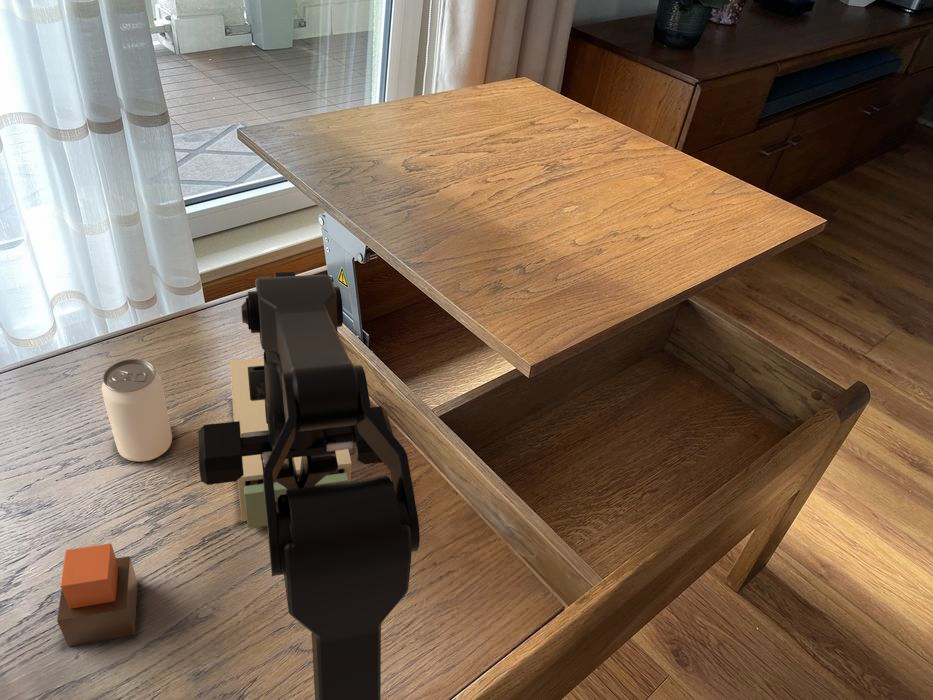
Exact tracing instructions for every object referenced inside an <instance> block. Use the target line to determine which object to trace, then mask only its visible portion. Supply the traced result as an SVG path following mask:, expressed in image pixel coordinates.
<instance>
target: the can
mask: <svg viewBox="0 0 933 700" xmlns="http://www.w3.org/2000/svg"><path fill="white" fill-rule="evenodd" d="M101 393H102V398H103V401H104V402H103V403H104V406H105V410H106V413H107V416H108V420H109V424H110V429H111V432H112V436H113V439H114V443H115V447H116V449H117V452H118V454H119V455H120V456H121V457H123V459H125V460H128V461H131V462H135V463H136V462H138V463H143V462H149V461H153V460H156V459H157V458H159V457H160V456H162V455H163V454H165V453H166V452H167V451H168V450H169V448H170V447H171V444H172V441H173V435H172V434H173V433H172V429H171V424H170V423H171V422H170V418H169V413H168V407H167V402H166V398H165V393H164V387H163V382H162V378H161V376H160V374H159V373H158V372H157V370H156V368H155V366H154V365H153V364H152V363H151V362H150V361H147V360H144V359H139V358H129V359H123V360H120V361H117V362H115V363H113V364H112V365H110V366H109V367H108V368H107V369H106V370H105V371H104V373H103V375H102V384H101Z"/></svg>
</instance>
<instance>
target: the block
mask: <svg viewBox="0 0 933 700" xmlns="http://www.w3.org/2000/svg"><path fill="white" fill-rule="evenodd" d="M116 558H117V557H116V554H115V550H114V548H113V544H112V543H105V544H97V545H91V546H84V547H77V548H76V547H75V548H71V549H70V548H69V549H65V553H64V559H63V568H62V574H61V580H60V588H61V589H62V591H63V593H64V596H65V598H66V600H67V603H68V605H69V608H70V609H72V608H78V607H84V606H90V605H96V604H102V603H108V602H114V601H116V590H117V577H118V563H117V560H116ZM61 589H60V590H61Z"/></svg>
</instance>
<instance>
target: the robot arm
mask: <svg viewBox="0 0 933 700" xmlns="http://www.w3.org/2000/svg"><path fill="white" fill-rule="evenodd" d="M254 282H255V283H254V284H255V290H252V291H247V297H245V301H244V302H243V304H242V305H241V307H240V309H241V320H242V324H246V325H247V328H248V330H249V331H250V333H251V334H259V341H260V346H261V349H262V350H263V358H264V366H253V367H248V379H249V391H250V400H251V401H257V400H265V413H266V423H267V424H268V430H265V431H256V432H247V433H242V434H241V433H240V432H241V430H240V421H235V422H234V421H227V422H217V423H207V424H203V425H202V427H200V428H199V430H198V433H197V435H198V469H199V477H200V482H201V483H203V484H205V485H207V486H210V485H211V486H212V485H218V484H219V485H220V484H225V483H233V482H238V479H239V478H241V477H242V476H243V475H244V473H243V461H242V457H243V456H251V455H259V454H260V456H261V460H262V467H263V484H264V498H265V509H266V520H267V525H266V529H267V530H266V531H267V539H268V551H269V562H270V569H271V570H270V571H271V576H272V577H276V576H282V575H283V581H284V588H285V595H286V603H287V610H288V614H289V615H290V616H291V617H292V618H293V619H295V620H296V621H297V622H298V623H299V624H301V625H302V626H303V627H304V628H306V629H307V630H308V631H309V632H310V633H311V644H312V645H311V648H312V669H313V686H314V687H313V688H314V700H382V699H381V695H382V692H381V687H382V685H381V684H382V669H381V668H382V623H383V622H384V620H386V619H387V617H388V616H389V615H390V614H391V612H392V611H393V610H394V609H395V607H396V606H398V604H399V603H400V601H402V600H403V598H404V597H405V595H406V594H407V593H408V591H409V588H410V587H409V586H410V578H411V567H412V553H414V552H418V550H419V548H420V541H421V536H420V534H421V532H420V521H419V514H418V509H417V503H416V498H415V497H416V496H415V492H414V486H413V481H412V474H411V469H410V463H409V457H408V454H407V452H406V449H405V448H404V447H403V445H402V444H401V442H399V440H398V439H397V438H396V437H395V436H394V433H393V432H394V431H393V429H392V426H391V425H392V424H391V421H390V418H389V415H388V411H387V410H386V409H385V408H384V407H383V406H381V405H380V406H372V405H371V400H370V394H369V388H368V381H367V377H366V371H365V369H364V366H363V365H362V364H357V365H354V364H353V363H352V361H351V359H350V357H349V355H348V353H347V351H346V348H345V346H344V343H343V342H342V340H341V338H340V335H339V331H338V328H341V327H343V323H344V307H343V306H344V305H343V298H342V292H341V289H340V286H335V285H334V283H333V280H332V277H331V276H329V275H328V274H308V275H296V272H295V271H281V272H274V276H267V277H265V276H264V277H257V278H256V279H255V281H254ZM345 449H349V450H352V449H356V461H357V462H359V463H361V464H363V465H373V464H381V463H383V464H384V465H385V467H386V468H387V469H388V470H389V474H390V477H389V476H388V475H384V476H378V477H377V476H376V477H371V478H363V479H355V480H351V481H348V482H341V483H334V484H327V485H319V486H315V485H316V484H317V483H318V482H319V481H320V480H321V479H323V478H324V477H325V476H326V475H327V474H329V473H334V472H336V471H337V469H338V463H337V458H336V453H335V451H337V450H345ZM294 457H302V459H301V466H300V474H299V480H298V476H297V471H296V467H295V463H294ZM275 481H276V482H278V483H279V484H281V485H282V486H284V487H285V488H286V489H287V490H286V494H282V495H280V496H279V497H278V499H277V500H278V511H277V512H276V504H275V494H274V482H275Z"/></svg>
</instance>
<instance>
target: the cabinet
mask: <svg viewBox="0 0 933 700" xmlns="http://www.w3.org/2000/svg"><path fill="white" fill-rule="evenodd" d="M253 366H264V357H254V358H242V359H241V358H239V359H232V360H231V359H230V360H229V367H230V381H231V383H230V384H231V393H232V394H231V397H232V398H231V399H232V412H233V414H232V415H233V422H235V421H240V430H241V432H240V433H241V434H242V433H247V432H256V431H265V430H268V424H267V423H266V413H265V400H257V401H251V400H250V391H249V379H248V367H253ZM335 453H336V458H337V463H338V469H339V474H341V473H347V476H348V481H352V480H351V479H352V459H351V455H350V449H345V450H337V451H335ZM301 459H302V457H294V463H295V467H296V471H297V475H298V474H300V466H301ZM242 461H243V473H244V475H243V476H242V477H241V478H239V479H238V480H237V486H238V496H239V505H240V506H239V507H240V515H241V522H247V515H246V505H245V495H244V486H249V485H250V481H251V480H259V479H263V467H262V460H261V456H260V454H259V455H251V456H243V457H242Z"/></svg>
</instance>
